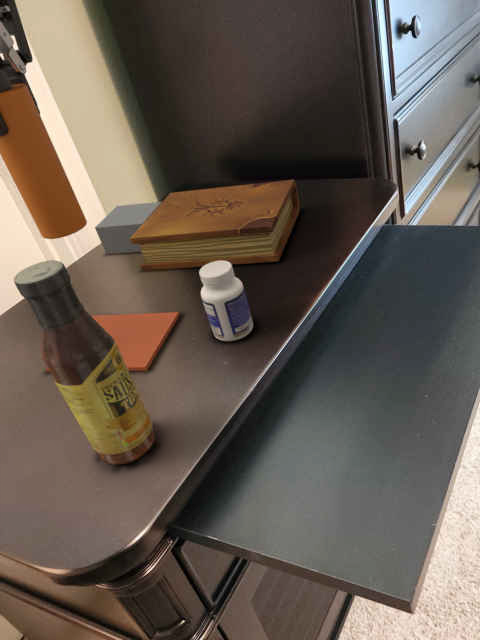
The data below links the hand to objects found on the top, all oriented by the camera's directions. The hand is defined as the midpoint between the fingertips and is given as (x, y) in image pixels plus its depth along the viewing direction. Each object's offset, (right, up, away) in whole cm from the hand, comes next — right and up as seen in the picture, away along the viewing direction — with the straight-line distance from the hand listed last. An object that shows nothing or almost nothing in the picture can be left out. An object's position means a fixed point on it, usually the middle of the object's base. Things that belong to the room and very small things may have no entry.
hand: (15, 125), depth 53 cm
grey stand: (0, +1, +42) cm, 42 cm away
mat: (+4, -20, +17) cm, 27 cm away
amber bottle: (+2, -8, +7) cm, 11 cm away
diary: (+16, -1, +36) cm, 40 cm away
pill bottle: (+20, -19, +15) cm, 31 cm away
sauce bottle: (+11, -32, +2) cm, 34 cm away
